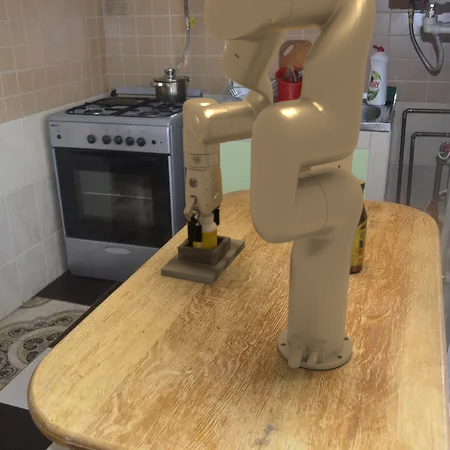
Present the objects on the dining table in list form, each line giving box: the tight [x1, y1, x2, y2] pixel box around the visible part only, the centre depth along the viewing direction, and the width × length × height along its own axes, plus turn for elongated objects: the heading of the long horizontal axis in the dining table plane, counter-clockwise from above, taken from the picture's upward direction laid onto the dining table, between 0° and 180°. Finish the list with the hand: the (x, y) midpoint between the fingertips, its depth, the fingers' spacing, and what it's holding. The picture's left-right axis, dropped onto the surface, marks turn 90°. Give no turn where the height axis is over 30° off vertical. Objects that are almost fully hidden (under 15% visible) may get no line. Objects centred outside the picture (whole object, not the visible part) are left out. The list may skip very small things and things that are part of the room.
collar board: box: [160, 234, 246, 285], centre depth 124 cm, size 20×12×4 cm, turn 158°
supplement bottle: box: [193, 212, 218, 251], centre depth 123 cm, size 5×5×10 cm
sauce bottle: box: [350, 178, 369, 274], centre depth 118 cm, size 7×6×20 cm
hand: (204, 232), depth 123 cm, fingers open, 9 cm apart
